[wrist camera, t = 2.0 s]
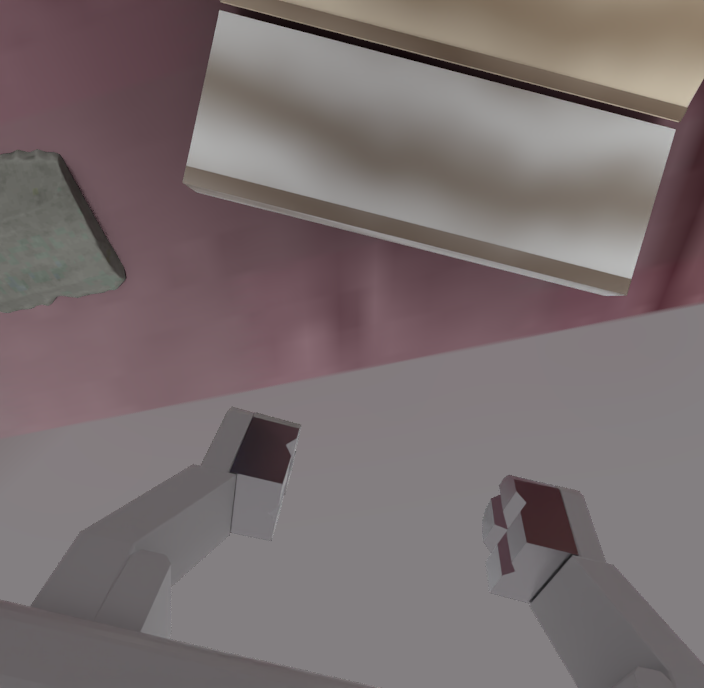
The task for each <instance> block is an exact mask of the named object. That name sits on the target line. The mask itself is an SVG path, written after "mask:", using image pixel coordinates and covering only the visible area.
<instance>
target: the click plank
mask: <svg viewBox="0 0 704 688" xmlns="http://www.w3.org/2000/svg"><path fill="white" fill-rule="evenodd" d="M675 131H676V129H672V128H668V127H664V126H660V125H657V124H653V123H649V122H645V121H641V120H638V119H634V118H630V117H626V116H622V115H618V114H615V113H611V112H607V111H603V110H599V109H596V108H592V107H588V106H584V105H580V104H576V103H573V102H569V101H565V100H561V99H557V98H554V97H550V96H546V95H542V94H538V93H534V92H531V91H527V90H523V89H519V88H515V87H512V86H508V85H504V84H500V83H496V82H492V81H489V80H485V79H481V78H477V77H473V76H469V75H466V74H462V73H458V72H454V71H450V70H447V69H443V68H439V67H435V66H431V65H427V64H424V63H420V62H416V61H412V60H408V59H405V58H401V57H397V56H393V55H389V54H385V53H382V52H378V51H374V50H370V49H366V48H363V47H359V46H355V45H351V44H347V43H343V42H340V41H336V40H332V39H328V38H324V37H321V36H317V35H313V34H309V33H305V32H301V31H298V30H294V29H290V28H286V27H282V26H279V25H275V24H271V23H267V22H263V21H259V20H256V19H252V18H248V17H244V16H240V15H237V14H233V13H229V12H225V11H221V10H219V15H218V20H217V24H216V29H215V34H214V38H213V43H212V48H211V52H210V57H209V62H208V66H207V71H206V76H205V80H204V85H203V90H202V95H201V99H200V104H199V109H198V113H197V118H196V123H195V127H194V132H193V137H192V141H191V146H190V151H189V155H188V160H187V165H186V169H185V173H184V178H183V183H184V184H185V185H187V186H188V187H190V188H191V189H192V190H194V191H195V192H197V193H201V194H205V195H209V196H213V197H217V198H221V199H225V200H229V201H233V202H237V203H241V204H245V205H248V206H252V207H256V208H260V209H264V210H268V211H272V212H276V213H280V214H284V215H288V216H292V217H296V218H300V219H304V220H308V221H312V222H316V223H319V224H323V225H327V226H331V227H335V228H339V229H343V230H347V231H351V232H355V233H359V234H363V235H367V236H371V237H375V238H379V239H383V240H386V241H390V242H394V243H398V244H402V245H406V246H410V247H414V248H418V249H422V250H426V251H430V252H434V253H438V254H442V255H446V256H450V257H454V258H457V259H461V260H465V261H469V262H473V263H477V264H481V265H485V266H489V267H493V268H497V269H501V270H505V271H509V272H513V273H517V274H521V275H524V276H528V277H532V278H536V279H540V280H544V281H548V282H552V283H556V284H560V285H564V286H568V287H572V288H576V289H580V290H584V291H588V292H592V293H595V294H599V295H603V296H620V295H627V293H628V289H629V286H630V283H631V279H632V275H633V272H634V268H635V265H636V262H637V258H638V255H639V252H640V248H641V245H642V242H643V238H644V235H645V232H646V228H647V225H648V221H649V218H650V215H651V211H652V208H653V205H654V201H655V198H656V195H657V191H658V188H659V185H660V181H661V178H662V174H663V171H664V168H665V164H666V161H667V158H668V154H669V151H670V148H671V144H672V141H673V138H674V134H675Z"/></svg>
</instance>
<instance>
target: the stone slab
mask: <svg viewBox="0 0 704 688" xmlns="http://www.w3.org/2000/svg"><path fill="white" fill-rule="evenodd" d="M124 280H125V272H124V267H123V265H122V263H121V262H120V260H119V258H118V256H117V254H116V252H115V251H114V249H113V248H112V246H111V244H110V243H109V241H108V239H107V238H106V236H105V234H104V233H103V231H102V229H101V228H100V226H99V224H98V222H97V221H96V219H95V217H94V215H93V213H92V211H91V210H90V208H89V206H88V204H87V202H86V201H85V199H84V197H83V195H82V194H81V192H80V190H79V188H78V186H77V184H76V183H75V181H74V179H73V178H72V176H71V174H70V172H69V170H68V168H67V166H66V164H65V162H64V160H63V159H62V157H61V156H60V154H58V153H55V152H44V151H41V150H38V149H37V150H34V151H32V152H25V151H21V150H16V151H14V152H12V153H6V154H1V155H0V312H3V313H11V312H13V311H17V310H21V309H32V308H34V307H35V306H37V305H47V306H49V305H50V304H52V303H53V301H54V300H55V298H56V297H58V296H67V297H76V298H79V297H81V296H86V295H90V294H97V293H104V292H106V291H108V290H116V289H117V288H118V287H119V286H120V285H121V284H122V283H123V281H124Z"/></svg>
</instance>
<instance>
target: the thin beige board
mask: <svg viewBox="0 0 704 688" xmlns="http://www.w3.org/2000/svg"><path fill="white" fill-rule="evenodd" d="M220 1H221V3H225V4H229V5H233V6H237V7H240V8H244V9H248V10H252V11H256V12H260V13H263V14H267V15H271V16H275V17H279V18H282V19H286V20H290V21H294V22H298V23H302V24H305V25H309V26H313V27H317V28H321V29H324V30H328V31H332V32H336V33H340V34H343V35H347V36H351V37H355V38H359V39H363V40H366V41H370V42H374V43H378V44H382V45H385V46H389V47H393V48H397V49H401V50H404V51H408V52H412V53H416V54H420V55H424V56H427V57H431V58H435V59H439V60H443V61H446V62H450V63H454V64H458V65H462V66H465V67H469V68H473V69H477V70H481V71H485V72H488V73H492V74H496V75H500V76H504V77H507V78H511V79H515V80H519V81H523V82H527V83H530V84H534V85H538V86H542V87H546V88H549V89H553V90H557V91H561V92H565V93H568V94H572V95H576V96H580V97H584V98H588V99H591V100H595V101H599V102H603V103H607V104H610V105H614V106H618V107H622V108H626V109H629V110H633V111H637V112H641V113H645V114H649V115H652V116H656V117H660V118H664V119H668V120H671V121H675V122H679V121H681V120H682V118H683V116H684V114H685V113H686V111H687V109H688V108H687V107H688V105H689V103H690V102H691V100H692V98H693V96H694V95H695V93H696V91H697V89H698V87H699V86H700V84H701V82H702V80H703V79H704V0H220Z"/></svg>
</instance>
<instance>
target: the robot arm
mask: <svg viewBox="0 0 704 688" xmlns="http://www.w3.org/2000/svg"><path fill="white" fill-rule="evenodd" d="M300 429H301V425H300V424H296V423H293V422H289V421H285V420H281V419H278V418H274V417H270V416H266V415H263V414H259V413H253V412H250V411H246V410H242V409H239V408H235V407H231V408H230V409H229V410H228V411H227V413H226V415H225V417H224V419H223V421H222V423H221V425H220V427H219V429H218V431H217V433H216V436H215V437H214V439H213V441H212V444H211V445H210V447H209V449H208V451H207V453H206V455H205V457H204V459H203V461H202V464H201V466H199V465H194V464H193V465H191V466H189V467H188V468H186V469H184V470H183V471H181V472H180V473H178V474H176V475H174V476H173V477H171V478H169V479H168V480H166V481H164V482H163V483H161V484H159V485H158V486H156V487H154V488H153V489H151V490H149V491H148V492H146V493H144V494H143V495H141V496H139V497H138V498H136V499H135V500H133V501H131V502H129V503H128V504H126V505H124V506H123V507H121V508H119V509H118V510H116V511H114V512H113V513H111V514H109V515H108V516H106V517H104V518H103V519H101V520H99V521H98V522H96V523H94V524H93V525H91V526H89V527H88V528H86V529H85V530H83V531H81V532H80V533H79V534H78V536H77V537H76V539H75V540H74V542H73V543H72V545H71V546H70V547H69V549H68V550H67V552H66V553H65V555H64V556H63V558H62V560H61V561H60V562H59V564H58V565H57V567H56V568H55V570H54V571H53V573H52V574H51V576H50V577H49V579H48V581H47V582H46V583H45V585H44V586H43V588H42V589H41V591H40V592H39V594H38V595H37V597H36V598H35V600H34V601H33V603H32V604H31V606H26V605H21V604H17V603H12V602H9V601H4V600H0V688H379V687H375V686H371V685H367V684H363V683H358V682H354V681H350V680H345V679H341V678H337V677H332V676H328V675H323V674H319V673H315V672H311V671H307V670H302V669H298V668H293V667H289V666H285V665H281V664H276V663H272V662H267V661H263V660H259V659H255V658H251V657H246V656H242V655H238V654H233V653H229V652H225V651H220V650H216V649H212V648H207V647H203V646H198V645H194V644H190V643H186V642H181V641H177V640H173V639H169V637H170V634H171V587H172V586H173V585H174V584H175V583H176V582H178V581H179V580H180V579H181V578H182V577H183V576H184V575H185V574H186V573H188V572H189V571H190V570H191V569H192V568H193V567H195V566H196V565H197V564H198V563H199V562H200V561H201V560H202V559H203V558H205V557H206V556H207V555H208V554H209V553H210V552H211V551H212V550H214V549H215V548H216V547H217V546H218V545H219V544H220V543H221V542H223V541H224V540H225V539H226V538H227V537H228V536H229V535H230V533H234V534H239V535H244V536H249V537H254V538H258V539H263V540H268V541H272V537H273V534H274V530H275V527H276V524H277V520H278V517H279V513H280V509H281V505H282V500H283V496H284V495H285V493H286V489H287V485H288V482H289V478H290V474H291V470H292V466H293V462H294V457H295V453H296V451H295V449H296V446H297V442H298V439H299V434H300ZM499 488H500V495H498V496H496V497H494V498H491V500H490V502H489V503H488V505H487V508H486V509H485V513H484V517H483V525H482V526H483V527H482V533H483V542H484V544H485V545H486V547H487V548H488V549H489V551H490V552H491V555H490V556H489V558H488V559H487V561H486V569H487V577H488V586H489V593H491V594H495V595H499V596H503V597H507V598H510V599H514V600H518V601H522V602H525V603H529V604H530V605H529V606H530V608H531V610H532V611H533V613H534V615H535V617H536V618H537V620H538V621H539V623H540V625H541V627H542V628H543V630H544V632H545V633H546V635H547V636H548V638H549V640H550V642H551V643H552V645H553V647H554V648H555V650H556V652H557V653H558V655H559V657H560V658H561V660H562V662H563V663H564V665H565V667H566V668H567V670H568V672H569V673H570V675H571V677H572V678H573V680H574V682H575V683H576V685H577V687H578V688H704V664H703V663H702V662H701V661H700V660H699V659H698V658H697V656H696V655H695V654H694V653H693V652H692V651H691V650H690V649H689V648H688V647H687V645H686V644H685V643H684V642H683V641H682V640H681V639H680V638H679V637H678V635H677V634H676V633H675V632H674V631H673V630H672V629H671V628H670V627H669V625H668V624H667V623H666V622H665V621H664V620H663V619H662V618H661V617H660V616H659V614H658V613H657V612H656V611H655V610H654V609H653V608H652V607H651V606H650V605H649V603H648V602H647V601H646V600H645V599H644V598H643V597H642V596H641V595H640V593H639V592H638V591H637V590H636V589H635V588H634V587H633V586H632V585H631V583H630V582H628V580H627V579H626V578H625V577H624V576H623V575H622V574H621V572H620V571H619V570H618V569H617V568H616V567H615V566H614V565H611V564H608V563H606V560H605V557H604V554H603V551H602V549H601V545H600V543H599V540H598V537H597V534H596V531H595V528H594V525H593V522H592V519H591V516H590V513H589V510H588V508H587V505H586V502H585V499H584V496H583V495H582V494H581V493H580V491H577V490H573V489H568V488H564V487H560V486H554V485H551V484H547V483H543V482H538V481H534V480H529V479H525V478H521V477H517V476H512V475H508V476H506V477H505V478H504V479H503V480H502V482H501V484H500V485H499Z"/></svg>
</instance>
